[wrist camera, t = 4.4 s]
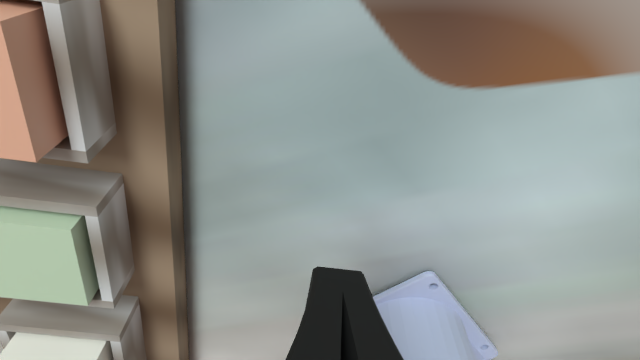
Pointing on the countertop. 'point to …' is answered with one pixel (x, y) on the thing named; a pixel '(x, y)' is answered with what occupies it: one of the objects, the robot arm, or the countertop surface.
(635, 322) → the countertop surface
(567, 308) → the countertop surface
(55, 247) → the sage button
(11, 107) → the terracotta button
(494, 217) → the countertop surface
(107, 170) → the button console
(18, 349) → the cream button
